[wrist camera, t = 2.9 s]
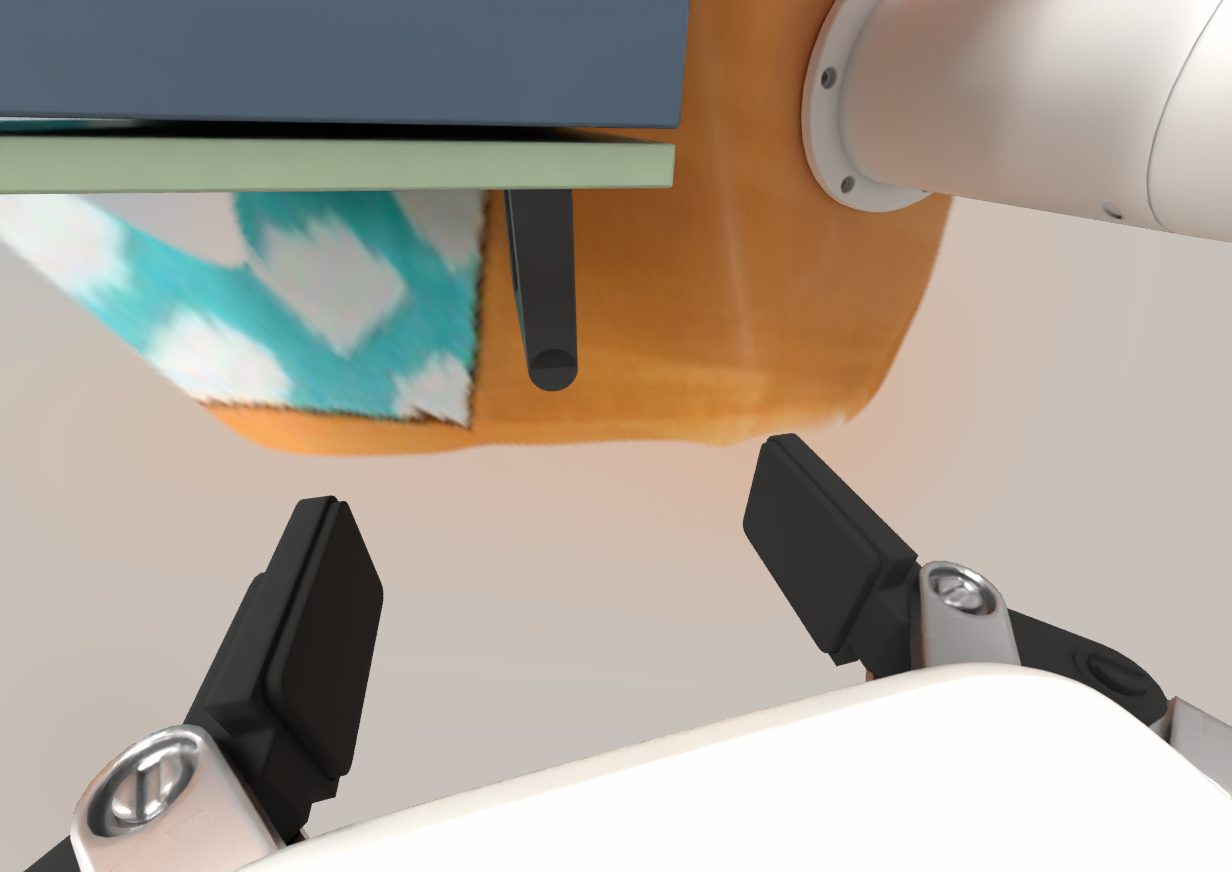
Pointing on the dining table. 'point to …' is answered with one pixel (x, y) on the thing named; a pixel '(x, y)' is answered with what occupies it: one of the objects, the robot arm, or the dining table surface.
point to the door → (364, 183)
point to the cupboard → (348, 61)
